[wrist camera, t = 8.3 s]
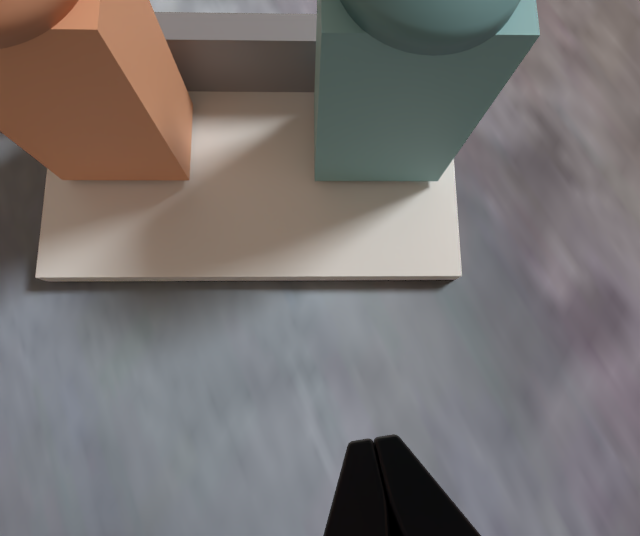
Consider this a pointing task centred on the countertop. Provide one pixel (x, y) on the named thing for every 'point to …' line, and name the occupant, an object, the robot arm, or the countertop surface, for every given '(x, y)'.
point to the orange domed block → (93, 90)
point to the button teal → (409, 81)
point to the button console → (248, 182)
